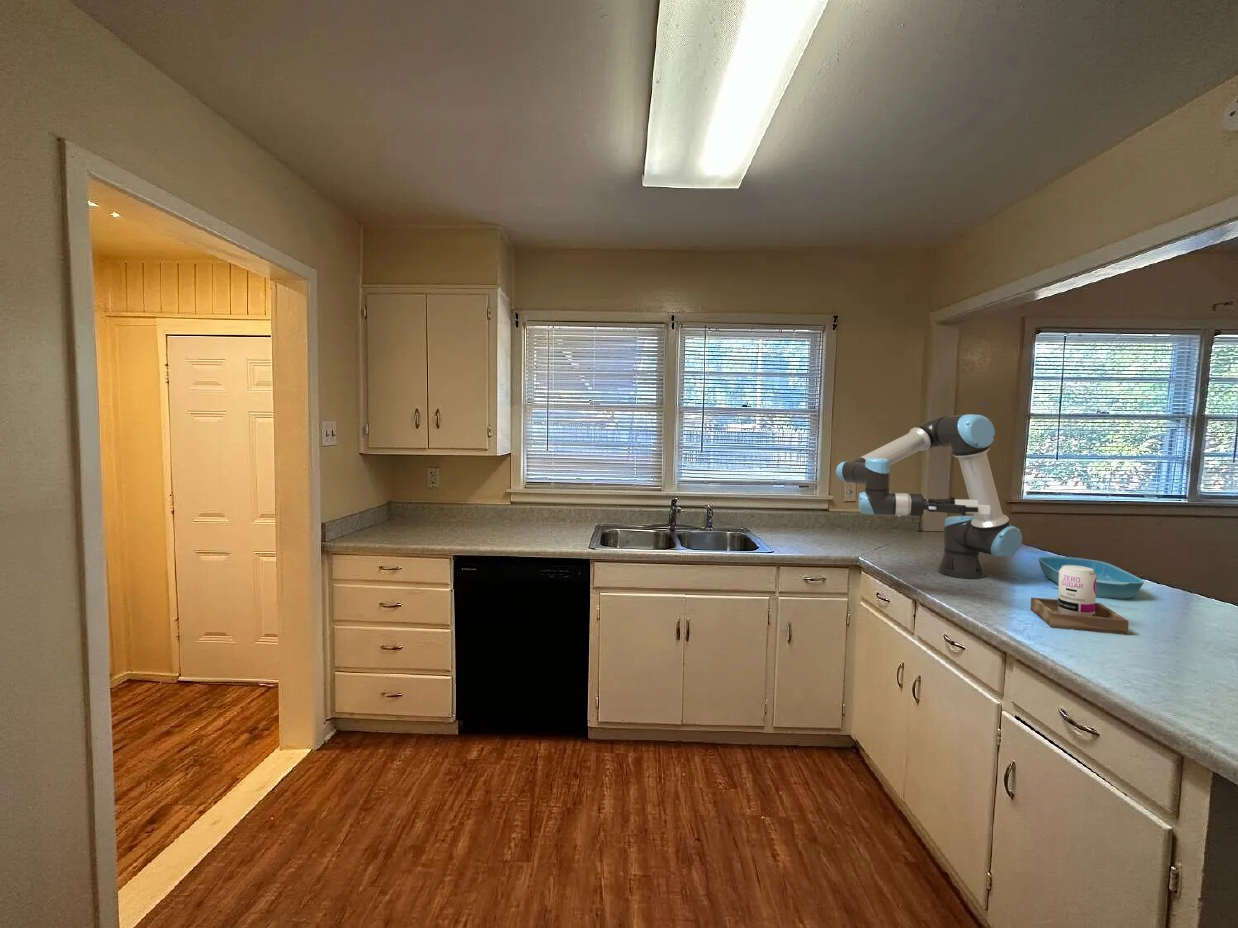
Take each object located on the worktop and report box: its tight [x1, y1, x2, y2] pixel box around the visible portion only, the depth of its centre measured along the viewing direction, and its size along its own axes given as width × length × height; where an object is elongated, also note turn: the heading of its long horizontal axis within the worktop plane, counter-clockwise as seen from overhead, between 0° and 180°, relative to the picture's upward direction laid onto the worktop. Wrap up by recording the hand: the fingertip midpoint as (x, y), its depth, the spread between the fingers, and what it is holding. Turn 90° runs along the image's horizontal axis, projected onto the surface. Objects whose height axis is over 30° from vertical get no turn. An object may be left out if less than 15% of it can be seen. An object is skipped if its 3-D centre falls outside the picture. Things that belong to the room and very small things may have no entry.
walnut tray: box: [1030, 597, 1129, 636], centre depth 153 cm, size 16×17×4 cm
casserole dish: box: [1038, 555, 1145, 600], centre depth 187 cm, size 37×22×7 cm, turn 159°
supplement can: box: [1057, 565, 1097, 617], centre depth 153 cm, size 8×8×15 cm
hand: (983, 506), depth 168 cm, fingers open, 13 cm apart
